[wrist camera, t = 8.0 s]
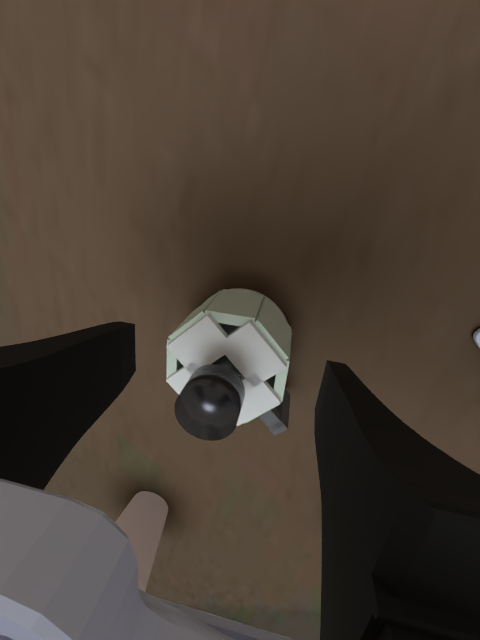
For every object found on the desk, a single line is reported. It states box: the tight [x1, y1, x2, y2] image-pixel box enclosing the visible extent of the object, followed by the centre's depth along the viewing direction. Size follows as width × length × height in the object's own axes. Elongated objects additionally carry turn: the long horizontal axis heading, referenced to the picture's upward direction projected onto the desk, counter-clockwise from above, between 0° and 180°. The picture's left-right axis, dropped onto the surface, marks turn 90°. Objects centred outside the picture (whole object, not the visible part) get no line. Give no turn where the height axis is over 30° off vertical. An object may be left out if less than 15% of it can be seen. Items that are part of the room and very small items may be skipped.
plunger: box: [175, 323, 245, 440], centre depth 18 cm, size 5×5×8 cm
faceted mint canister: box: [166, 288, 292, 436], centre depth 20 cm, size 9×7×5 cm
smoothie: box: [115, 491, 168, 592], centre depth 25 cm, size 6×6×14 cm
